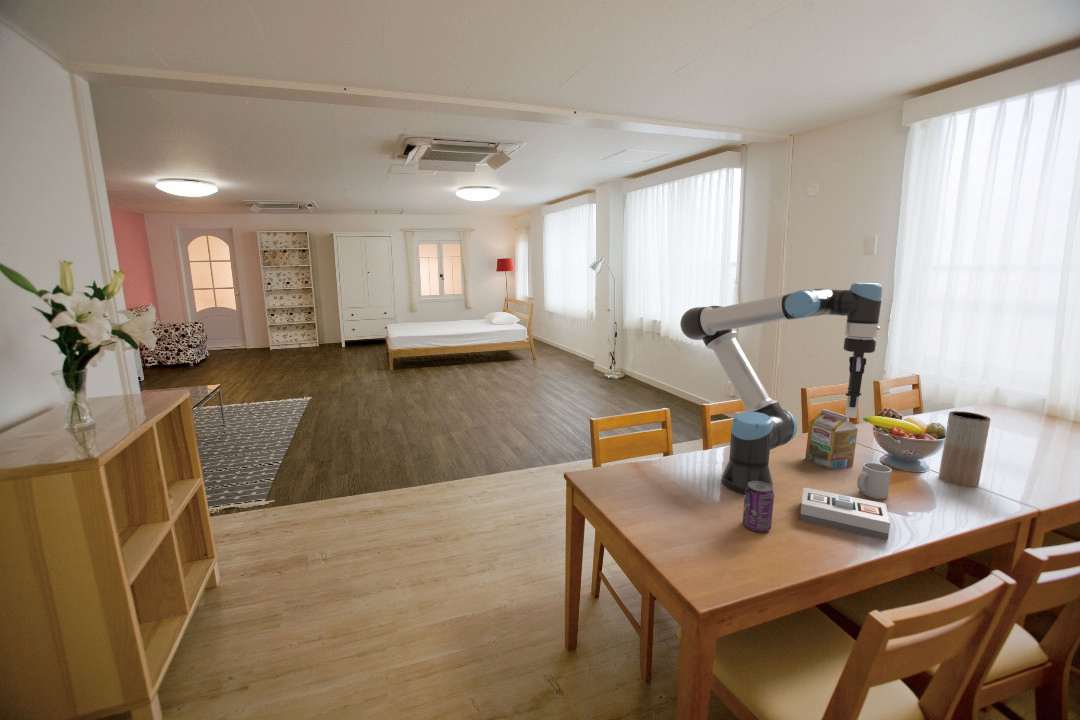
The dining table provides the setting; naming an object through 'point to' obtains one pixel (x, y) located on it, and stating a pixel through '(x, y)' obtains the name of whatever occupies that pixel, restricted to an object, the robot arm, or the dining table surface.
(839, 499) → the key mid
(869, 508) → the key right
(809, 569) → the dining table surface
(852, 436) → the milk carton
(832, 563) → the dining table surface
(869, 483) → the cup
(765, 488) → the beverage can
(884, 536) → the keypad
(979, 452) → the planter
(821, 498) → the key left
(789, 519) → the dining table surface
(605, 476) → the dining table surface
